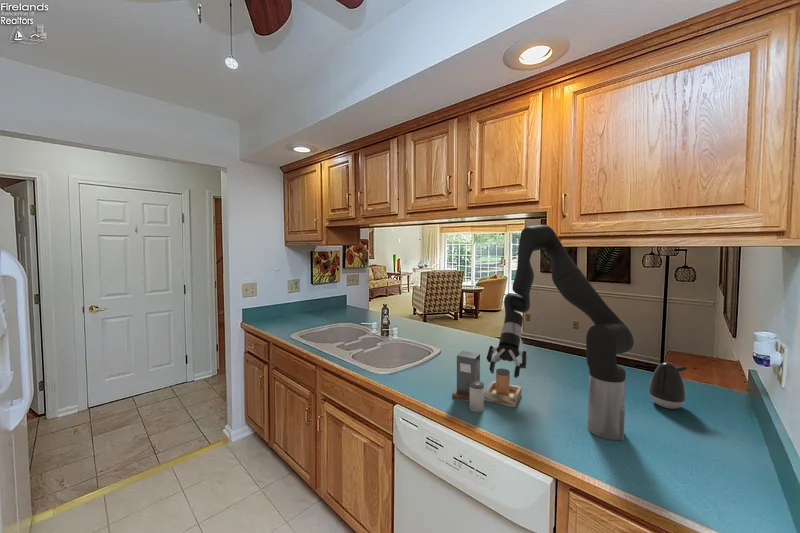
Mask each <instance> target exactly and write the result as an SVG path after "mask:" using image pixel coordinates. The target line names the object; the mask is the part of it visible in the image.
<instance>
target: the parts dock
mask: <svg viewBox="0 0 800 533" xmlns="http://www.w3.org/2000/svg"><path fill="white" fill-rule="evenodd" d="M521 397H522V386H520V385H513V384H510V396H505V395H500V394H496V380H491V382H490V383H489V385H488V386H487V387H486V388H485V389H484V401H486V400H487V401H486V402H490V401H491V402H492V403H494V402H496V403H495V404H498V403H499V404H498V405H503V404H504V405H503V406H508V407H511V408H512V407H513V408H516V407H517V405H518V403H519V401H520V399H521Z"/></svg>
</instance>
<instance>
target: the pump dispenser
mask: <svg viewBox="0 0 800 533" xmlns="http://www.w3.org/2000/svg"><path fill="white" fill-rule="evenodd" d="M687 370H688V367H687V366H681V367H677V366H676V365H675V364H673V363H672V362H668V361H666V362H661V363H659V365H657V366H656V369H655V370H654V372H653V374H652V376H651V378H650V380H649V386H648V393H649V396H650V398H651V400H652V401H653V402H654V403H655V404H656V405H657V406H659V407H662V408H666V409H672V410H675V409H680V408H681V407H682V406H683V405H684V404H685V402H686V401H687V390H686V385H685V380H684V379H683V378H684V377H683V376H682V374H681V372H683V371H687Z"/></svg>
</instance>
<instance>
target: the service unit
mask: <svg viewBox="0 0 800 533" xmlns="http://www.w3.org/2000/svg"><path fill="white" fill-rule="evenodd" d="M471 381H480V382H481V353H479V352H478V353H477V352H471V351H465V350H461V351H460V352H459V353H458V354H457V355H456V388H455V390H453V392H452V393H451V396H452V398H454V397H455V399H459V400H463V401H466V400H467V402H469V398H470V382H471Z"/></svg>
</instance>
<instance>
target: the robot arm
mask: <svg viewBox="0 0 800 533" xmlns="http://www.w3.org/2000/svg"><path fill="white" fill-rule="evenodd" d="M519 235H520V236H519V241H518V251H517V252H518V253H517V263H516V264H517V266H516V272H515V276H514V280H513V282H512V288H511V289H512V291H513V292H514V293H512V292H510V293H509V292H508V293H507V294H506V295H505V296H504V300H503V304H504V305H503V307H504V312H505V314H504V315H505V316H504V322H503V325H502V329H501V334H500V338H499V342H498V346H497V347H494V346H493V345H490V346H489V349H488V352H487V355H486V361H487V362H488V363H490V364H489V371H490V373H491V374H494V373H495V367H496V364H497V363H498V362H500V361H507V362H513V364H514V365H515V367H514V374H513V377H514V378H515V379H518V377H519V376H520V372H521V369H527V360H528V359H527V358H528V354H527V351H526V350H523V351H520V344H521V339H522V327H523V323H524V317H523V315H522V314H521V313H523V314H526V313H527V312H528V311H529V310H530V308H531V299H530V298H531V297H530V296H531V295H530V294H531V289H532V285H533V283H534V279H535V273H534V269H533V268H532V265H531V257H532V254H533V252H535V251H541V250H543V251H544V252H545V253H546V255H547V256H548V257H549V259H550V260H551V279H552V282H553V284H554V286H555V287H556V289H557V290H558V292H559V293H560V294H561V296H562V297H563V298H564V299H565V300H566V301H568V302H569V303H570V304H571V305H572V306H574V307H575V308H577V309H579V311H581V312H583V313H584V314H585V315H586V316H587V317H588V318H589V319H590V320H591V321H592V323H593V324H594V325H592V326H590V327H589V328H588V330H587V333H586V339H585V344H586V345H585V346H586V347H585V349H586V350H585V351H586V354H585V355H586V364H587V366H588V369H589V370H588V372H589V373H588V376H589V377H588V397H587V398H588V399H587V401H588V403H587V421H586V422H587V429H588V431H589V432H590V433H592V434H593V435H594V436H596V437H599V438H602V439H606V440H610V441H611V440H614V441H617V440H620V441H624V440H625V419H626V417H625V416H626V407H625V403H626V402H625V400H626V399H625V398H626V396H625V395H626V379H627V378H626V376H627V374H626V370H625V369H624V367H622V366H620V365H618V363H617V355H619V354H623V353H624V354H625V353H627V352H629V351H631V350H632V348H633V347H634V336H633V334H632V332H631V330H630V329H629V327H628V326H627V325H626V324H625V323H624V322H623V320H621V319H620V318H619V316H618V315H617V314H616V313H615V312H614V311H613V310H612V309H611V308H610V306H609V305H608V304H607V303H606V302H605V301H604V299H602V297H601V296H600V294H599V293H598V292H597V291H596V289H595V288H594V287H593V285H592V284H591V283H590V281H589V280H588V278H587V277H586V276H585V275H584V273H583V272H582V271H581V270H580V268H579V267H578V265H576V263H575V261H573V259H572V258H571V256H570V254H569V253H568V252H567V250H566V249H565V247H564V246H563V244H562V242H561V239H560V238H559V237H558V235H557V234H556V232H555V231H554V229H553V228H552V227H551V226H550V225H547V224H539V225H531V226H530V225H529V226H526V227H524V228H523V229H522V230H521V232H520V234H519ZM495 353H496V354H495ZM494 354H495V355H494ZM493 355H494V356H493ZM518 356H520V358H521V363H520V362H519V360H518V359H517V357H518Z"/></svg>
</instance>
